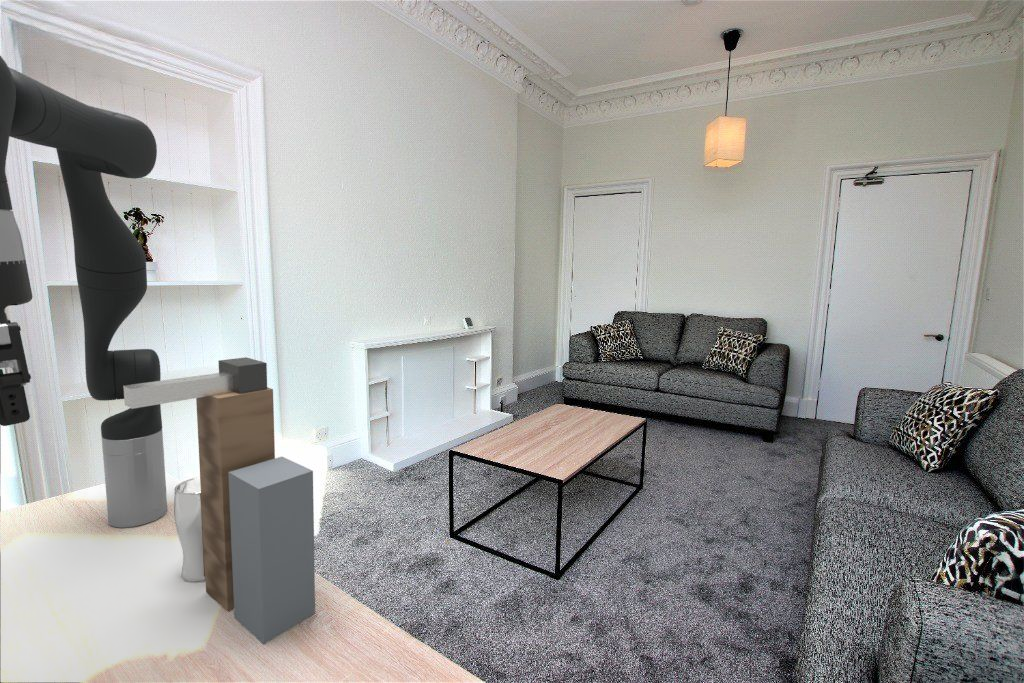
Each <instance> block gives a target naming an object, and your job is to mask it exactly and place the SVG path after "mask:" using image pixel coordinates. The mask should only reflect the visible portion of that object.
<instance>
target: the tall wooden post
mask: <svg viewBox="0 0 1024 683" xmlns="http://www.w3.org/2000/svg"><path fill="white" fill-rule="evenodd" d="M195 399H196V402H195V403H196V404H195V405H196V418H197V419H196V423H197V440H198V460H199V461H198V464H199V477H200V484H201V504H202V524H203V543H204V563H205V580H204V582H205V593H206V594H208V595H209V596H210V598H211V599H213V600H214V601H215V602H216V603H218V605H220V606H221V607H222V608H223V609H224V610H225V611H226V612H229V613H230V611H232V610H234V594H233V570H232V546H231V522H230V498H229V474H228V472H231V471H234V470H238V469H241V468H244V467H248V466H251V465H255V464H258V463H261V462H265V461H268V460H271V459H275V458H276V452H275V451H276V449H275V415H274V414H275V413H274V412H275V411H274V388H271V387H268V386H267V389H266V390H260V391H254V392H248V393H242V394H238V393H235V392H230V393H224V394H218V395H212V396H206V397H200V398H195Z"/></svg>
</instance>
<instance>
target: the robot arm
mask: <svg viewBox="0 0 1024 683" xmlns="http://www.w3.org/2000/svg"><path fill="white" fill-rule="evenodd" d="M10 138H14V139H17V140H19V141H20V140H21V141H23V142H27V143H30V144H35V145H39V146H43V147H44V146H45V147H49V148H52V149H55V150H56V154H57V159H58V163H59V168H60V171H61V176H62V180H63V183H64V185H63V186H64V189H65V194H66V197H67V198H66V199H67V203H68V207H69V214H70V215H69V216H70V220H71V227H72V228H71V229H72V237H73V250H74V253H73V254H74V264H75V274H76V280H77V287H78V293H79V299H80V304H81V305H80V307H81V312H82V320H83V330H84V331H83V332H84V359H85V360H84V363H85V364H84V365H85V380H86V382H85V383H86V388H87V390H88V393H89V395H90V396H91V398H92V399H94V400H96V401H101V402H102V401H105V402H106V401H116V400H124V387H123V386H125V385H132V384H140V383H147V382H155V381H162V380H161V362H160V358H159V355H158V352H156V351H155V350H154V349H152V348H140V349H139V348H138V349H135V348H134V349H116V350H109V347H110V344H111V342H112V339H113V338H114V335H115V334H116V333H117V330H118V329H119V328H120V327H121V325H122V324H123V323H124V321H125V320H127V318H128V317H129V316H130V315H131V314H132V312H133V311H134V310H135V309H136V308H137V307H138V306H139V303H140V302H141V301H142V300H143V299H144V297H145V295H146V293H147V289H148V276H147V275H148V274H147V259H146V258H147V257H146V254H145V250H144V249H143V247H142V245H141V243H140V241H139V240H138V239H137V238H136V236H135V234H134V233H133V232H132V231H131V229H130V228H129V227H128V226H127V224H126V222H125V221H124V220H123V219H122V218H121V216H120V215H119V214H118V212H117V210H115V208H114V206H113V205H112V203H111V201H110V199H109V197H108V194H107V192H106V188H105V184H104V181H103V176H102V174H106V175H110V176H115V177H120V178H126V179H141V178H145V177H147V176H149V174H151V173H152V172H153V169H154V168H155V165H156V161H157V155H158V151H157V148H158V147H157V146H158V145H157V141H156V138H155V135H154V133H153V132H152V130H151V128H150V127H149V126H148V125H147V124H146V123H144V122H143V121H142V120H139V119H137V118H135V117H133V116H131V115H127V114H123V113H119V112H116V111H112V110H107V109H104V108H99V107H94V106H92V105H87V104H85V103H83V102H81V101H79V100H76V99H74V98H72V97H70V96H68V95H66V94H64V93H62V92H60V91H58V90H56V89H54V88H53V87H50V86H48V85H46V84H44V83H42V82H40V81H39V80H37V79H34V78H32V77H30V76H28V75H26V74H24V73H22V72H20V71H19V70H16V69H14V68H11V67H10V66H8V64H7V62H6V61H5V60H4V58H3V57H2V56H1V55H0V426H1V427H7V426H12V425H16V424H21V423H25V422H27V421H29V420H30V418H31V416H30V415H31V414H30V411H29V405H28V400H27V395H26V390H25V386H26V385H27V383H31V379H32V376H31V373H30V372H29V368H28V363H27V359H26V354H25V350H24V345H23V344H24V343H23V339H22V335H21V331H22V328H21V325H19V324H18V321H17V322H16V321H13V322H11V320H10V319H8V315H7V313H6V312H5V310H6V308H8V307H10V306H21V305H25V304H28V303H29V302H31V301H32V299H33V297H34V296H33V292H32V287H31V282H30V280H31V279H30V277H29V276H30V275H29V270H28V266H27V260H26V254H25V250H24V249H25V248H24V244H23V238H22V234H21V230H20V228H19V225H18V223H17V221H16V218H15V214H14V211H13V204H12V200H11V195H10V189H9V184H8V179H7V174H6V163H7V156H8V150H9V141H10ZM5 368H10V369H12V372H8V373H6V372H5V373H4V371H3V369H5ZM161 406H162V404H158V405H152V406H146V407H140V408H134V409H132V408H130V407H128V409H125V410H123V411H121V412H118V413H115V414H112V416H108V417H107V418H105V419H104V420H103V421H102V422H101V424H100V433H101V434H100V436H101V445H102V447H101V448H102V459H103V469H104V471H103V472H104V481H105V482H104V483H105V494H106V495H105V496H106V497H105V498H106V508H107V510H106V511H107V520H108V525H110V526H111V527H114V528H131V527H132V528H133V527H137V526H142V525H146V524H149V523H151V522H153V521H156V520H159V519H160V518H161V517H163V516H164V515H165V514H166V513H167V512H168V500H167V484H166V483H167V481H166V480H167V479H166V466H165V451H164V448H165V446H164V435H163V420H162V409H161Z"/></svg>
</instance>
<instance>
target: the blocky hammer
mask: <svg viewBox="0 0 1024 683" xmlns="http://www.w3.org/2000/svg"><path fill="white" fill-rule="evenodd" d="M267 366H268V365H267V362H265V361H261V360H257V359H253V358H250V357H247V356H246V357H240V358H239V357H238V358H230V359H229V358H228V359H222V360H221V359H220V360H218V372H216V373H208V374H202V375H193V376H192V375H191V376H187V377H186V376H185V377H180V378H179V377H177V378H172V379H165V380H164V379H163V380H160V381H155V382H147V383H140V384H132V385H125V386H123V387H124V399H123V401H124V406H126V407H127V408H132V409H134V408H140V407H146V406H152V405H158V404H160V405H163V404H168V403H175V402H181V401H188V400H193V399H196V398H200V397H206V396H212V395H218V394H224V393H230V392H235V393H238V394H242V393H248V392H254V391H260V390H266V389H267V387H268V370H267V369H268V368H267Z"/></svg>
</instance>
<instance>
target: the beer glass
mask: <svg viewBox="0 0 1024 683" xmlns="http://www.w3.org/2000/svg"><path fill="white" fill-rule="evenodd" d="M173 489H174V498H173V508H174V509H173V513H174V514H173V516H174V523H175V528H176V532H177V535H178V539H179V542H180V546H181V550H182V559H183V560H182V567H181V573H180V577H181V578H182V580H184V581H185V582H190V583H198V582H202V581H204V582H205V563H204V543H203V524H202V504H201V484H200V476H196V477H192V478H188V479H186V480H183V481H181V482H180V483H178V484H176V486H175V487H174V488H173Z"/></svg>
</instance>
